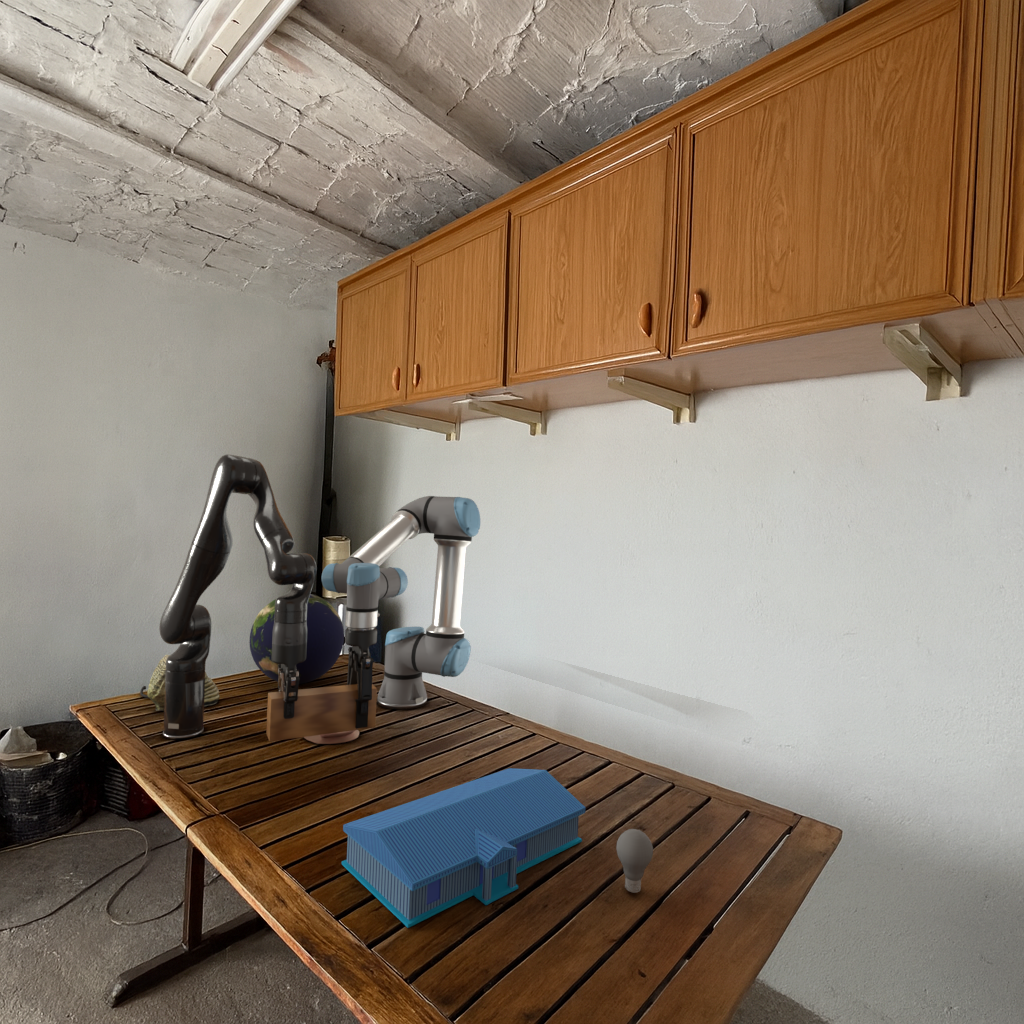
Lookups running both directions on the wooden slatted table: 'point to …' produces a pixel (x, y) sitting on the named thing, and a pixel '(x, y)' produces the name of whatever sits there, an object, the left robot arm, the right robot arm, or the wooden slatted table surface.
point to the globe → (321, 640)
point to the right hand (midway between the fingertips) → (357, 722)
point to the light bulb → (634, 857)
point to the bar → (317, 712)
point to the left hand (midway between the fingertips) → (286, 713)
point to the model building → (462, 842)
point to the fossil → (158, 687)
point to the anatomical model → (334, 737)
